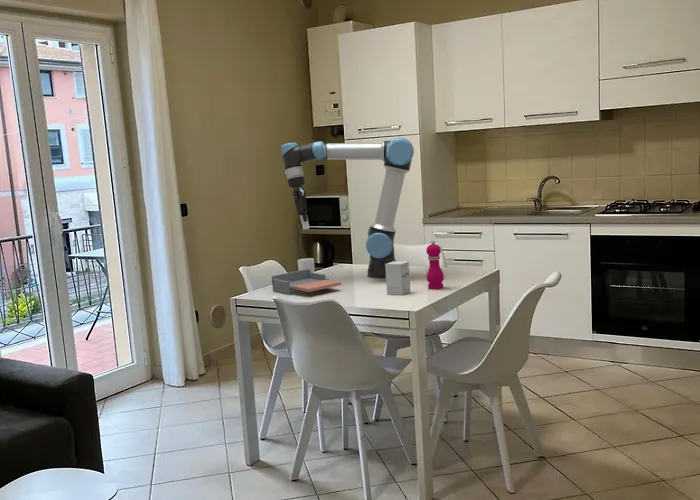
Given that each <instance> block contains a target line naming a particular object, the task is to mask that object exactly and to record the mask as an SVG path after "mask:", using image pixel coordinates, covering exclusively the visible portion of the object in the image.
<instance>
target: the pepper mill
mask: <svg viewBox="0 0 700 500" xmlns="http://www.w3.org/2000/svg"><path fill="white" fill-rule="evenodd" d="M441 252H442V249H441V246H440V245H439V244H436V240H433V239H432V240H431V242H430V244H429V245H428V246H427V247H426V254H427V255H428V256H427V258H428V261H429V267H428V271H427V272H426V281H427V282H428V284H427V285H428V286H427V289H428V290H431V289H437V290H442V289H444V283H443V282H444V280H445V276H444V272H443V271H442V270H443V269H441V265H440V260H441Z"/></svg>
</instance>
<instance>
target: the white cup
mask: <svg viewBox="0 0 700 500" xmlns="http://www.w3.org/2000/svg"><path fill="white" fill-rule="evenodd" d="M296 262H297V268H298V271H300V270H306V269H310V271H311V272H312V273H315V258H312V257H310V258H309V257H308V258H300V259H297V261H296Z"/></svg>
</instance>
